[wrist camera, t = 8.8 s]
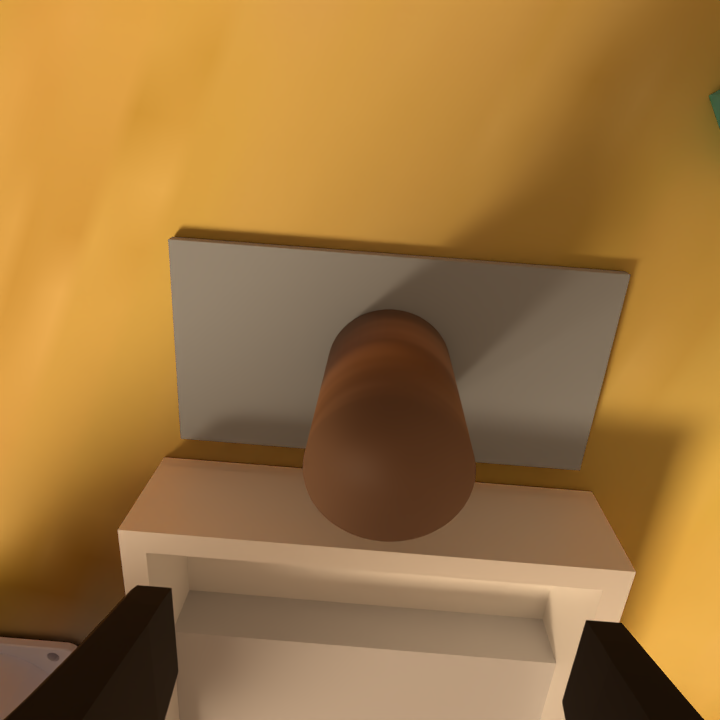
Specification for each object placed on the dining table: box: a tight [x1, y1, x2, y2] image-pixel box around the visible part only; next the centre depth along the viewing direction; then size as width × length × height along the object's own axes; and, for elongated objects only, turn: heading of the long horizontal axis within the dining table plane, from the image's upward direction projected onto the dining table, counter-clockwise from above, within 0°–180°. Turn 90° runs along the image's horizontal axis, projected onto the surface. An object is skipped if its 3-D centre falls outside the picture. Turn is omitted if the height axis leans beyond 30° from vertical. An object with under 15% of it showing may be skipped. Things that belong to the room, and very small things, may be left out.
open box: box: [118, 457, 636, 720], centre depth 22 cm, size 16×16×4 cm
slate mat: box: [168, 237, 630, 470], centre depth 19 cm, size 14×7×1 cm, turn 86°
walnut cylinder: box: [303, 309, 476, 542], centre depth 16 cm, size 4×4×6 cm
